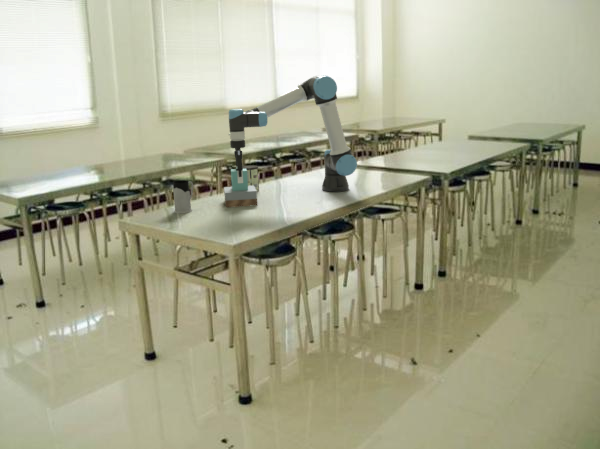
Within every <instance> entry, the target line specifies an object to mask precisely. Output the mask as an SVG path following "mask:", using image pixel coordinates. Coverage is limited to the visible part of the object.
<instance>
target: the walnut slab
mask: <svg viewBox="0 0 600 449" xmlns="http://www.w3.org/2000/svg"><path fill="white" fill-rule="evenodd" d="M224 202H225V208H237V207H251V206H250V205H255V206H258V198H257V199H244V200H228V201H226V200H225V199H224Z"/></svg>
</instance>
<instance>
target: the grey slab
mask: <svg viewBox="0 0 600 449" xmlns="http://www.w3.org/2000/svg"><path fill="white" fill-rule="evenodd" d="M223 192H224V201H225V200H226V201H228V200H244V199H257V200H258V191H256V189H255V187H254V185H253V186H248V190H240V191H232V186H223Z"/></svg>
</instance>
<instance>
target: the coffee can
mask: <svg viewBox="0 0 600 449" xmlns="http://www.w3.org/2000/svg"><path fill="white" fill-rule="evenodd" d="M242 168H243V169H246V170H247V179H248V186H253V185H254V187H255V189H256V191H257V192H259V191H260V185H259V184H260V183H259V166H258V165H256V164H255V165H254V164H252V165H251V164H250V165H248V164H247V165H242Z"/></svg>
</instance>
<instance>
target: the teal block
mask: <svg viewBox="0 0 600 449" xmlns="http://www.w3.org/2000/svg"><path fill="white" fill-rule="evenodd" d="M230 177H231V180H230V181H231V187H232V191H240V190H248V179H247V170H246V169H243V183H238V177H237V171H236V168H234V169H233V168H231V169H230Z"/></svg>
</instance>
